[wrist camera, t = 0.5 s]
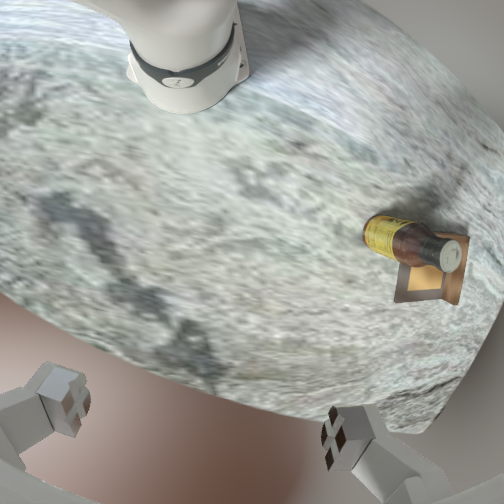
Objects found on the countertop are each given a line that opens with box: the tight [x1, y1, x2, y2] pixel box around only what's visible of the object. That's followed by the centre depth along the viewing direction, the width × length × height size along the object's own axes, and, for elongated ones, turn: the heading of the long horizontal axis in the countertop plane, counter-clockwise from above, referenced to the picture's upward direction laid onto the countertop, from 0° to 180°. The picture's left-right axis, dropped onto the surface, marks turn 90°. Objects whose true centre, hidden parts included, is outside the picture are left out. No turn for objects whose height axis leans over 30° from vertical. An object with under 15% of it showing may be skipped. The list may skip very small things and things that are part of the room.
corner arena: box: [394, 231, 470, 305], centre depth 51 cm, size 14×14×5 cm
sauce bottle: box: [363, 215, 462, 273], centre depth 40 cm, size 6×6×20 cm
